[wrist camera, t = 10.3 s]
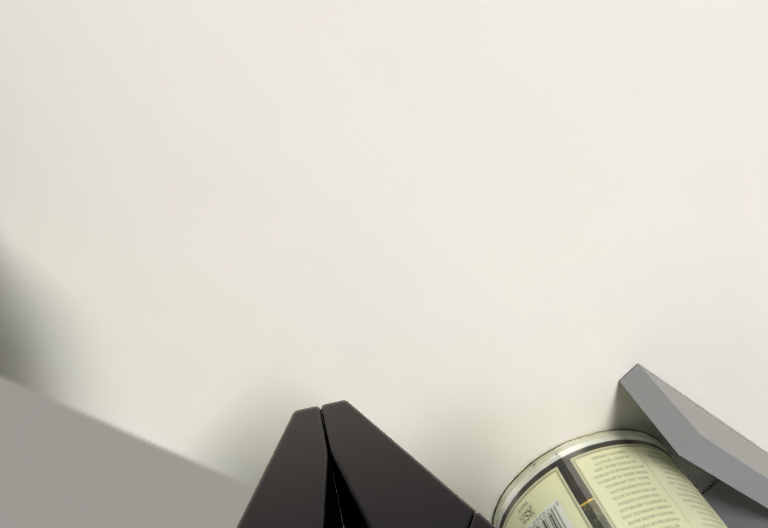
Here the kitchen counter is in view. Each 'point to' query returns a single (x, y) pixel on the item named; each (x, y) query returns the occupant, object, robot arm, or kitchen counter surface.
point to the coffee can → (605, 488)
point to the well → (707, 449)
